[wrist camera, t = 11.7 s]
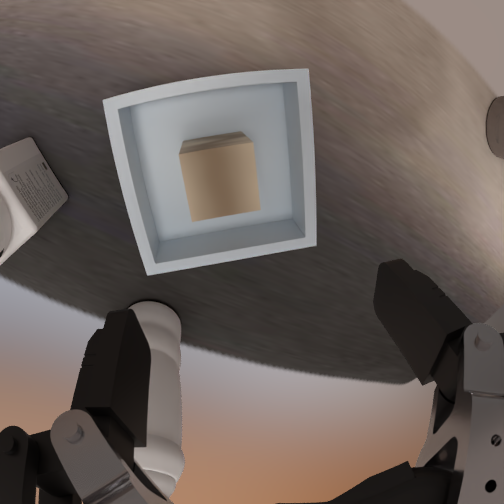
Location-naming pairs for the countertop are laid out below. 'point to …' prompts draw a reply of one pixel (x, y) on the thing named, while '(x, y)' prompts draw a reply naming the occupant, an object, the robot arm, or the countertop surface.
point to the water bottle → (162, 396)
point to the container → (25, 194)
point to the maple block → (219, 175)
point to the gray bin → (208, 124)
